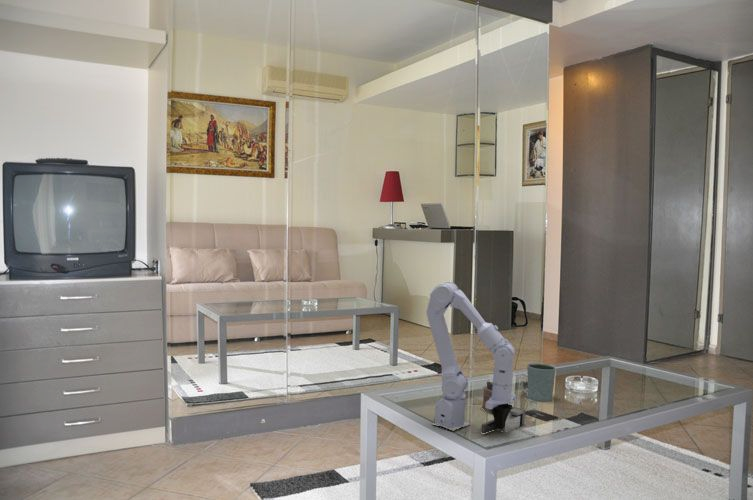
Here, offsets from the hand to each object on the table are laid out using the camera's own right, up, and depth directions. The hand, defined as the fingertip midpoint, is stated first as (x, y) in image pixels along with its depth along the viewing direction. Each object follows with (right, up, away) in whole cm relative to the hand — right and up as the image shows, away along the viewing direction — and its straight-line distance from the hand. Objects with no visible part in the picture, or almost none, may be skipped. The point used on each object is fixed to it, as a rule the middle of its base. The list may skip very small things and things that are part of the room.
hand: (499, 428), depth 183 cm
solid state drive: (+17, -2, +20) cm, 26 cm away
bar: (+4, -1, +4) cm, 6 cm away
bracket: (+2, -1, +3) cm, 4 cm away
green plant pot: (+23, -1, +41) cm, 47 cm away
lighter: (+1, -1, +21) cm, 21 cm away
